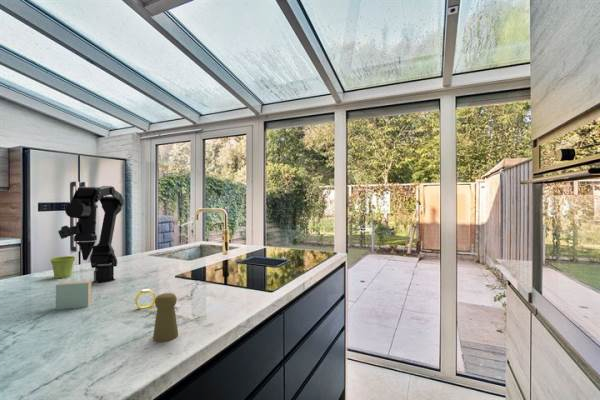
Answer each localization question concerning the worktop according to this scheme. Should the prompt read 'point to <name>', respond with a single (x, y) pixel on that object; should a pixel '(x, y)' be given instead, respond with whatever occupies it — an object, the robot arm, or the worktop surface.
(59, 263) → the plant pot
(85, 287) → the tile
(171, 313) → the cork
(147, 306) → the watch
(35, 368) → the worktop surface
